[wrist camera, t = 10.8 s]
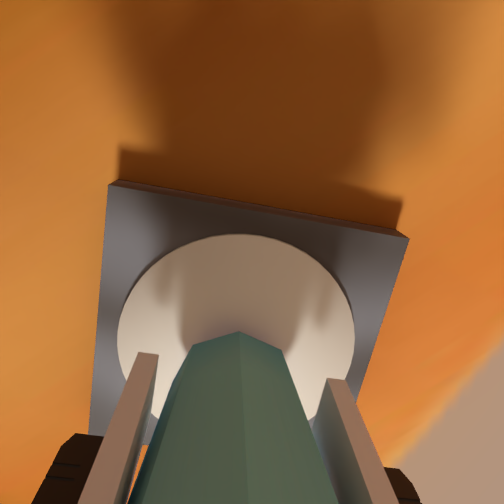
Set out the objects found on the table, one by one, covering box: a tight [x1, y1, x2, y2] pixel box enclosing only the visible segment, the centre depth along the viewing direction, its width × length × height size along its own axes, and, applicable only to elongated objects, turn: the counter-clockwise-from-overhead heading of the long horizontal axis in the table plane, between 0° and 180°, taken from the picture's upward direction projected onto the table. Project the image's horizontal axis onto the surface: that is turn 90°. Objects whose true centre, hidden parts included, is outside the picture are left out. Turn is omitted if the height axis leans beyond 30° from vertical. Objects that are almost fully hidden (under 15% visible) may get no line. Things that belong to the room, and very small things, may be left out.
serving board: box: [88, 179, 409, 445], centre depth 19 cm, size 13×13×2 cm
